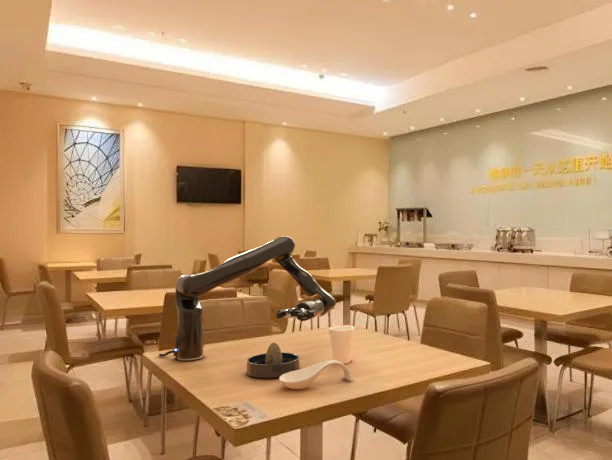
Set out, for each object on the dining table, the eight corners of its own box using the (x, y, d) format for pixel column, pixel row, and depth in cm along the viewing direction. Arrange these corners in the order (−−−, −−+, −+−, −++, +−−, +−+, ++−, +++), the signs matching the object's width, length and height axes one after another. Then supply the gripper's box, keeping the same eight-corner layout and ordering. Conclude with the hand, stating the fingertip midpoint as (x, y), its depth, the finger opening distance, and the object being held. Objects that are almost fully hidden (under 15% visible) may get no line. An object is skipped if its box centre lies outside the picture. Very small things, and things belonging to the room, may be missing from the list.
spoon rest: (284, 394, 164) (284, 371, 164) (274, 385, 174) (274, 363, 174) (355, 383, 176) (355, 362, 176) (342, 375, 186) (342, 354, 186)
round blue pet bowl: (236, 377, 183) (236, 363, 183) (263, 364, 201) (264, 351, 201) (284, 381, 179) (284, 366, 179) (308, 367, 196) (308, 354, 196)
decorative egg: (281, 372, 187) (281, 344, 187) (264, 373, 186) (264, 344, 186) (283, 367, 193) (283, 340, 193) (266, 368, 192) (266, 341, 192)
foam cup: (324, 361, 205) (324, 328, 204) (343, 357, 211) (343, 325, 211) (340, 366, 198) (340, 331, 198) (358, 361, 205) (358, 328, 205)
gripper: (291, 300, 218) (271, 305, 202) (323, 301, 214) (305, 307, 198) (291, 318, 218) (271, 325, 202) (323, 320, 214) (305, 327, 198)
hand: (288, 316), depth 200 cm, fingers open, 8 cm apart
